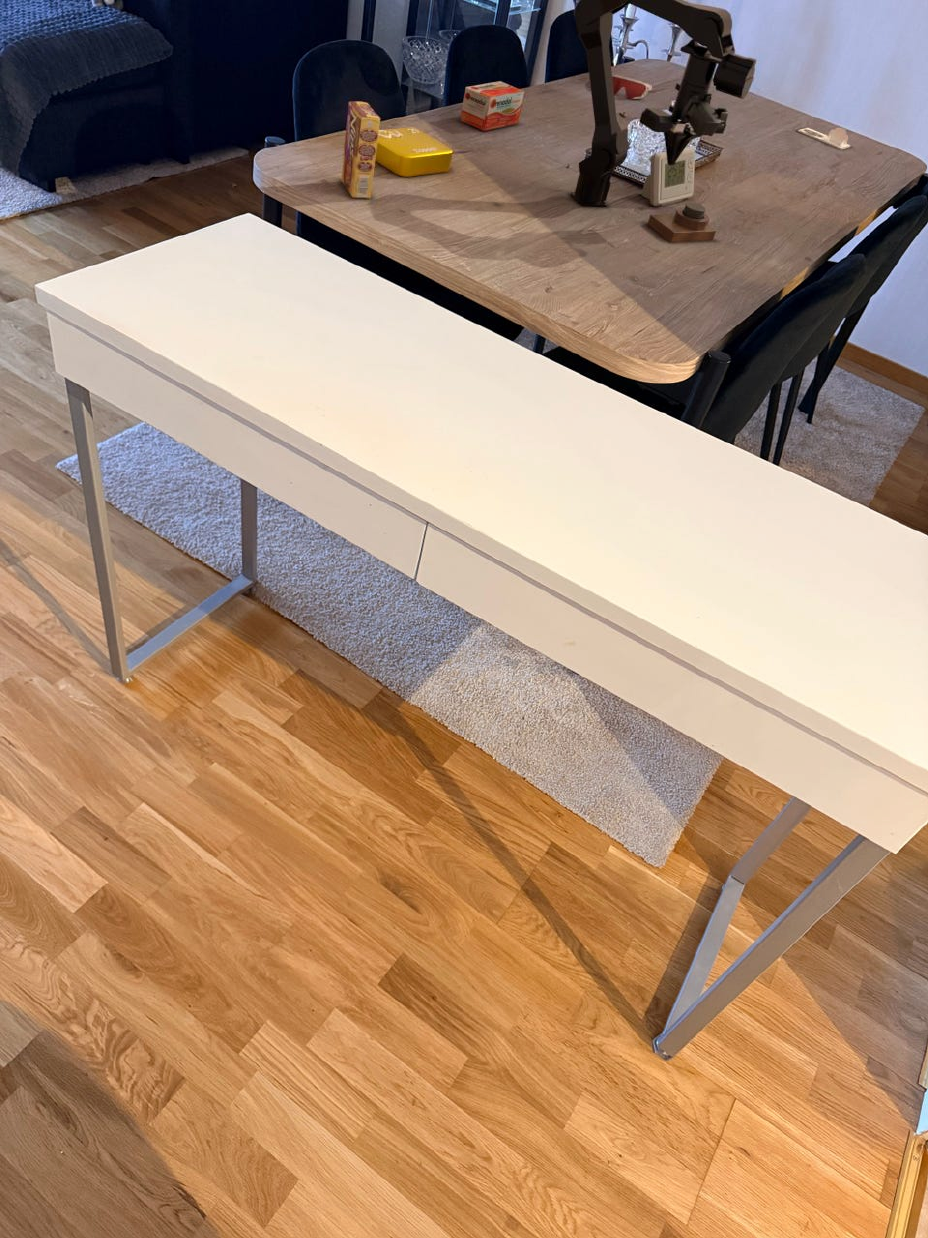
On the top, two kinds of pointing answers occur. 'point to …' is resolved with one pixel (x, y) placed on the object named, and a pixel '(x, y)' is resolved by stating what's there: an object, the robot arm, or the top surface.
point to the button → (694, 210)
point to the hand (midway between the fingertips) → (670, 164)
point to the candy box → (360, 149)
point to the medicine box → (492, 105)
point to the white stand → (829, 137)
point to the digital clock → (670, 178)
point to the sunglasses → (630, 87)
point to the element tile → (411, 152)
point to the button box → (682, 227)
